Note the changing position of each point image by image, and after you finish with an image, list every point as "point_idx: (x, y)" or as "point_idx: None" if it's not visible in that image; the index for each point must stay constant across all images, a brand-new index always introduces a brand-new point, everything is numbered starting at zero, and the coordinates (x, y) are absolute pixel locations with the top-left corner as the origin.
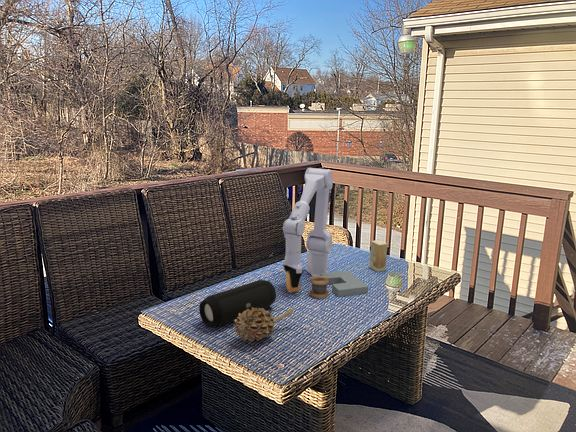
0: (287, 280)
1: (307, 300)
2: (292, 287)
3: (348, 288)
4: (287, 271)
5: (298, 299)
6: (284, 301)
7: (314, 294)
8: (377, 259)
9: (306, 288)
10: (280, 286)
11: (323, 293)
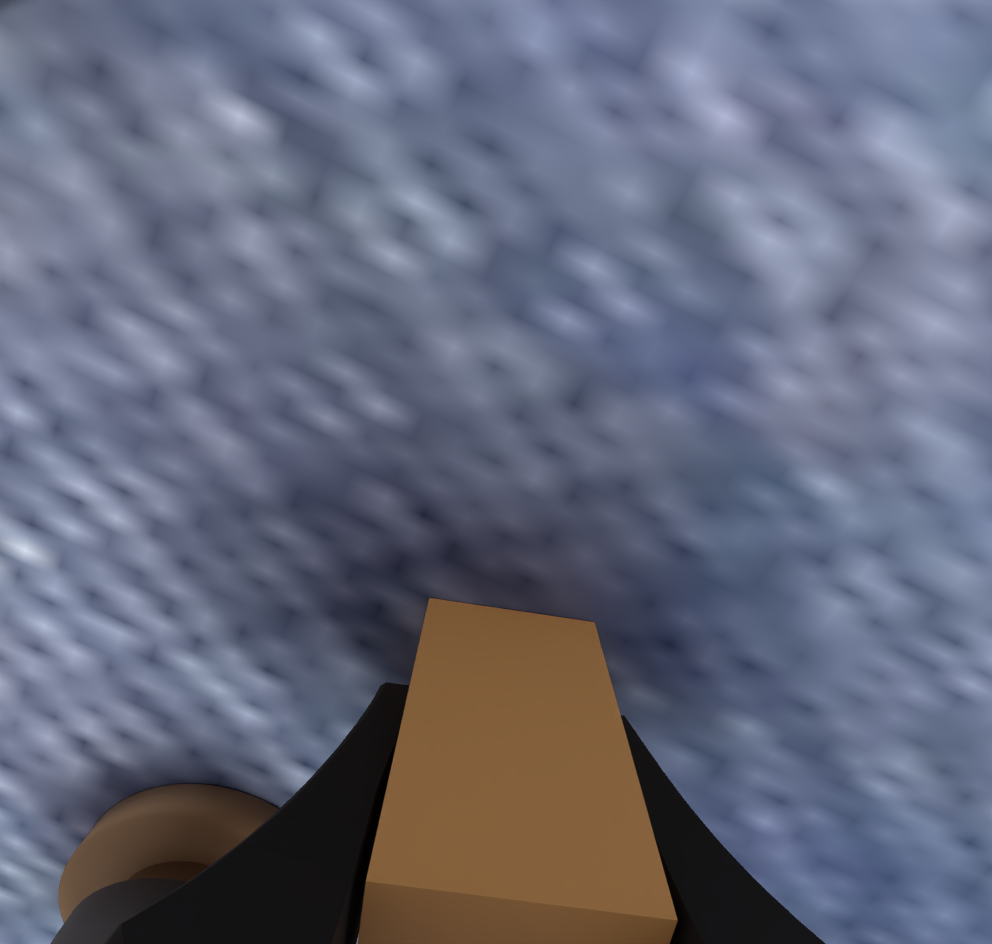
0: (541, 723)
1: (58, 683)
2: (384, 683)
3: None
4: (621, 927)
5: (125, 594)
6: (107, 369)
7: (120, 834)
8: None
9: None
10: (706, 577)
11: None
